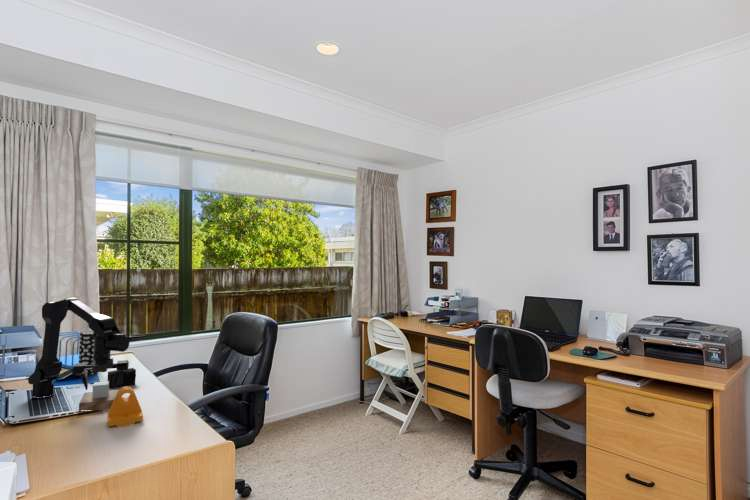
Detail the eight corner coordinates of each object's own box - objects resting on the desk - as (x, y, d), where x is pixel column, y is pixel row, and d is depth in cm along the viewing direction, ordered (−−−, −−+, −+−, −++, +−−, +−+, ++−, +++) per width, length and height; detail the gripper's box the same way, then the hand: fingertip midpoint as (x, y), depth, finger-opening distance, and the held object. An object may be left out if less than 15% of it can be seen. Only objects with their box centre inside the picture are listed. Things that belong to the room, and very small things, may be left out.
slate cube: (92, 398, 166) (92, 385, 166) (94, 394, 170) (94, 382, 171) (107, 397, 168) (107, 384, 168) (108, 393, 173) (109, 381, 173)
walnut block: (78, 413, 161) (79, 403, 161) (84, 402, 172) (84, 392, 172) (118, 409, 167) (118, 399, 167) (121, 398, 178) (121, 389, 178)
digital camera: (110, 389, 188) (111, 374, 188) (106, 386, 191) (107, 371, 191) (136, 385, 195) (136, 370, 195) (132, 382, 199) (132, 367, 199)
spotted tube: (101, 372, 212) (103, 332, 212) (82, 376, 205) (84, 335, 205) (93, 369, 217) (95, 330, 217) (74, 373, 210) (76, 332, 210)
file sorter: (105, 362, 231) (106, 334, 231) (71, 370, 215) (72, 339, 215) (77, 356, 242) (79, 329, 242) (43, 363, 226) (44, 334, 226)
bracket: (107, 428, 147) (109, 394, 148) (107, 421, 153) (108, 388, 154) (142, 423, 153) (144, 389, 154) (140, 416, 159) (142, 384, 160)
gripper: (70, 355, 158) (68, 397, 158) (128, 352, 167) (126, 391, 166) (75, 349, 168) (73, 388, 168) (129, 346, 177) (127, 383, 176)
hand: (100, 388), depth 169 cm, fingers open, 9 cm apart
